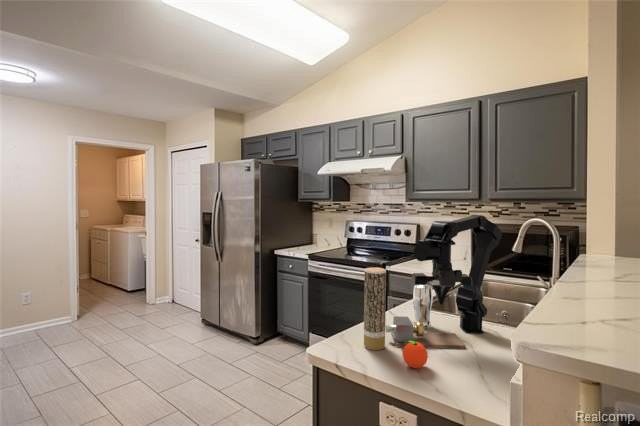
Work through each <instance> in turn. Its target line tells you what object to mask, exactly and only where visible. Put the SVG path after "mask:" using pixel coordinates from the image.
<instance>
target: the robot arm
mask: <svg viewBox="0 0 640 426" xmlns="http://www.w3.org/2000/svg"><path fill="white" fill-rule="evenodd" d="M468 230H471V232H472V233H473V234H474V235H475V236H474V241H475V244H476V250H475V251H474V252H475V253H474V256H473V260H472V263H471V265H470V270H469V272H468V274H466V273H463V270H461V269H455V270H454V269H453V264H452V261H451V260H452V258H451V257H452V246H455V245H457V244H456V242H455V241H454V238H456V237H457V236H458V234H459V233H462V232H465V231H468ZM502 237H503V232H502V230H501V229H500V227H499V226H498V225H497V224H496V223H494V222H492V221H490V220H489V219H488V218H487V217H486V216H485V215H483V214H482V215H481V214H471V215H469V216H466V217H462V218H457V219H455V220H451V221H450V220H446V221H445V220H434V221H432V223H431V225H430V228H429V229H428V231H427V233H426V235H425V236H424V237H423V239H419V240H418V243H417V244H416V245H415V247H414V249H413V254H414V258H415V259H416V260H417V261H418V262H427V261H431V263H432V272H431V275H427V274H425V273H423V272H422V273H421V272H420V273H419V272H414V273H412V274H411V282H412V283H413V284H414V285H430V286H432V290H433V291H434V293H435V296H436V300H437V303H438V304H439V305H440V306H441V305H443V304H444V302H445V300H446V298H447V295H448V293H449V291H450V290H452V288H453V289H454V288H455V286H456V283H460V284H461V285H462V286H458V289H457V293H456V295H455V297H456V298H455V304H456V306H457V311H458V312H461V315H460V318H459V327H460V328H461V329H462V330H463V332H465V333H467V334H472V333H473V334H477V333H478V334H484V333H485V332H484V330H483V318H485V317H486V316H487V314H488V308H487V307H486V306H485V305H484V303H483V301H484V296H483V292H482V286H483V285H482V284H483V282H484V278H485V275H486V271H487V268H488V265H489V261H490V258H491V253H492V251H493V250H495V248H497V247H498V246H499V244H500V242H501V239H502Z"/></svg>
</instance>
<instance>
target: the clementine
mask: <svg viewBox="0 0 640 426" xmlns="http://www.w3.org/2000/svg"><path fill="white" fill-rule="evenodd" d="M407 342H410V343H408V344H407V345H406V346H405V347H403V349H402V358H403V361H404V362H405V364H406V365H407V366H409V367H410V368H413V369H421V368H422V367H424V366H425V365H426V364H427V362H428V358H429V355H428V351H427V348H425V347H424V346H423V345H422V344H420V343H418V342H414V341H407ZM405 343H406V342H405ZM404 345H405V344H404Z"/></svg>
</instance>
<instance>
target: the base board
mask: <svg viewBox="0 0 640 426" xmlns="http://www.w3.org/2000/svg"><path fill="white" fill-rule="evenodd" d="M390 335H391V337H392V340H393V342H394V344H395V347H396V348H404V347H405V346H406V345H407V344H408V343H397V341H396V339H395V336H394V334H393V332H390ZM413 341H414V342H418V343H420V344H422V345H423V346H424V347H425V349H429V348H432V349H433V348H434V349H462V350H463V349H464V350H465V349H466V348H467V345H466V344H465V343H464V342H463V341H462V339H461V338H460V337H459V336H458V335H457V333H455V332H452V333H451V332H425V331H424V336H423V337H417V336H416V335H415V333H413ZM404 344H405V345H404Z"/></svg>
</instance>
